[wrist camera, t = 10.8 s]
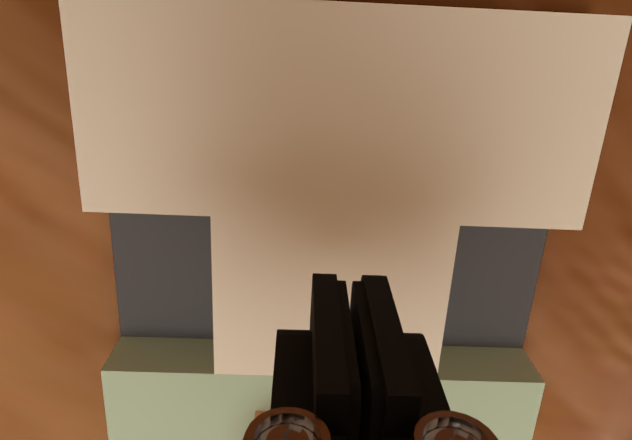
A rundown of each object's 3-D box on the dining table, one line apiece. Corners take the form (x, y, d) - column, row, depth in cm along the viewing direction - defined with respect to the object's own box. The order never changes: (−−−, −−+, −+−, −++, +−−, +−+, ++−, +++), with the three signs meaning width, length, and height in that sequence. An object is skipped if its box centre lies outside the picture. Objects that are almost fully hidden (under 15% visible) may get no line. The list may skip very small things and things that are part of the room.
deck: (91, -9, 17) (56, -14, 15) (589, 16, 17) (632, 16, 15) (136, 476, 24) (118, 526, 22) (490, 483, 24) (509, 533, 22)
